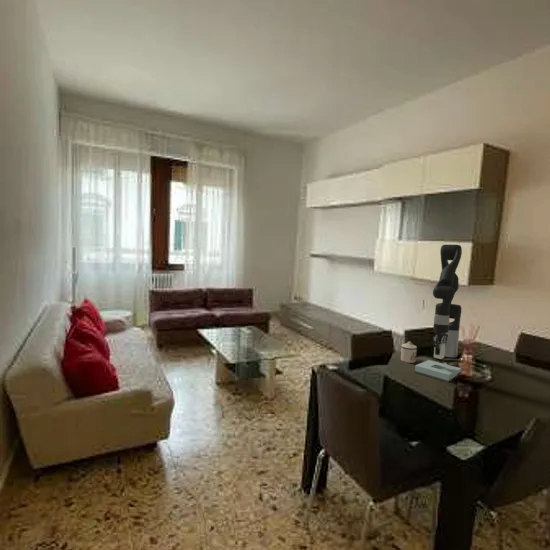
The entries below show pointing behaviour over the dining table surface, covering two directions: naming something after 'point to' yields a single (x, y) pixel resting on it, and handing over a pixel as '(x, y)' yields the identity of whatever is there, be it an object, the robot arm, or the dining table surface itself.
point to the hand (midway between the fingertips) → (439, 353)
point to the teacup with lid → (408, 352)
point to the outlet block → (437, 370)
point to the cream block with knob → (442, 352)
